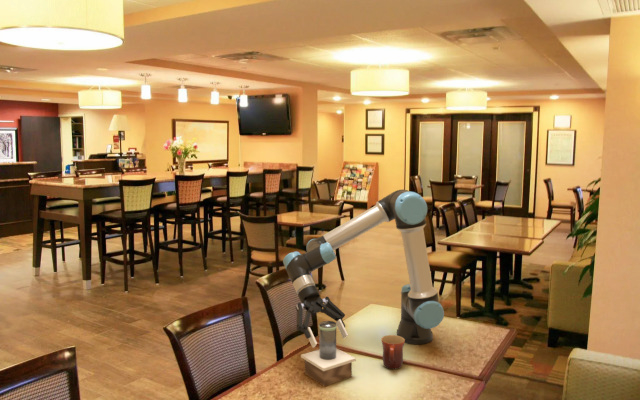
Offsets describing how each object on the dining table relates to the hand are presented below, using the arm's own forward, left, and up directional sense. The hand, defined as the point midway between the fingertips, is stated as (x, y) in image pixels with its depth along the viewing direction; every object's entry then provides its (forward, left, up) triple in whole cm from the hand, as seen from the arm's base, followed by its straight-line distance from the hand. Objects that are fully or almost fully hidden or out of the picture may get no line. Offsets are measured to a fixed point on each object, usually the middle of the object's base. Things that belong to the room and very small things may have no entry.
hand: (330, 341), depth 181 cm
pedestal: (0, -2, -13) cm, 13 cm away
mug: (-23, +7, -13) cm, 28 cm away
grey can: (0, -2, -6) cm, 6 cm away
